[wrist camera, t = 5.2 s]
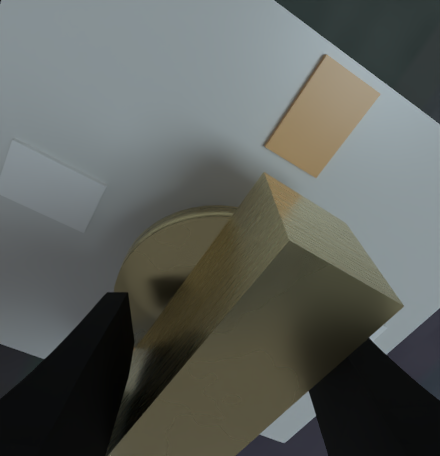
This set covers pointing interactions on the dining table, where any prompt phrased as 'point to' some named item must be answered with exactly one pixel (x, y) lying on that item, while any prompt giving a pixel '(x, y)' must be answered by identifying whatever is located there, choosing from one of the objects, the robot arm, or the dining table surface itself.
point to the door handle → (239, 319)
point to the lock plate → (194, 150)
